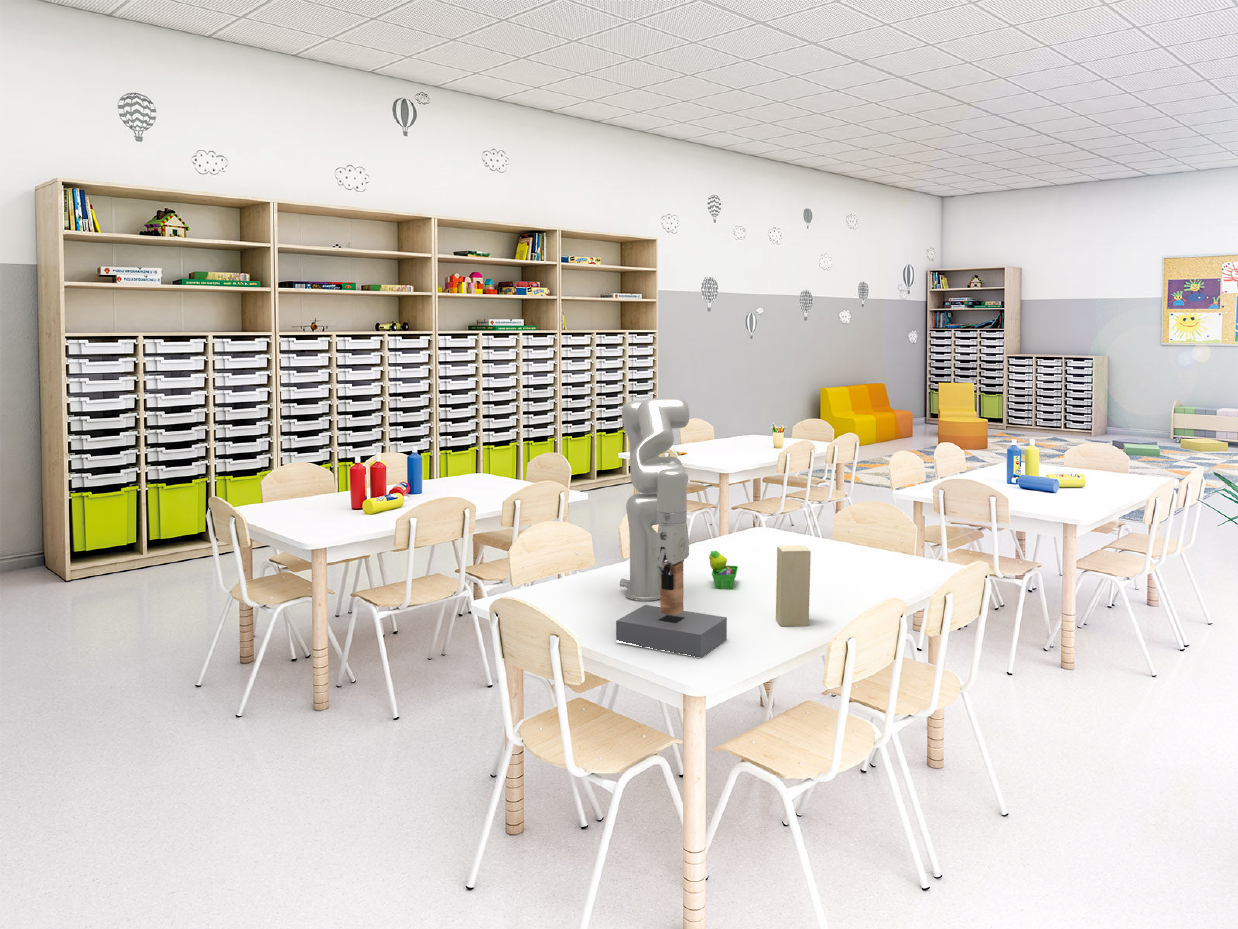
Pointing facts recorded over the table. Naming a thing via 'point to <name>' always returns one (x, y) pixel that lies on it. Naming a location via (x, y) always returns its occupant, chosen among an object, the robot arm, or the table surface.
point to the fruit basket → (722, 571)
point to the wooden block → (673, 592)
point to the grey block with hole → (672, 630)
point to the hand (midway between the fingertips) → (671, 586)
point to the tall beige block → (793, 585)
